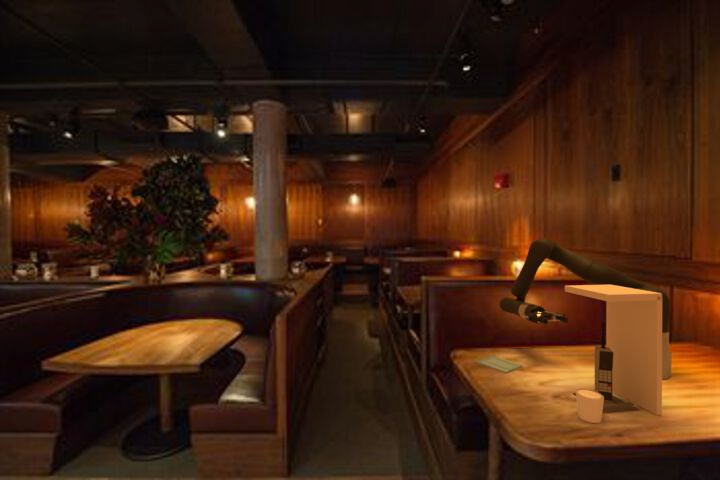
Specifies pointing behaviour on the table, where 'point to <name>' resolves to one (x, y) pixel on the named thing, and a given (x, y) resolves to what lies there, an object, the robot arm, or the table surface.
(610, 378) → the vintage mobile phone
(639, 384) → the overhang shelf
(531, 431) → the table surface
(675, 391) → the table surface
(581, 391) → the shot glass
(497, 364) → the pale green flat pad
